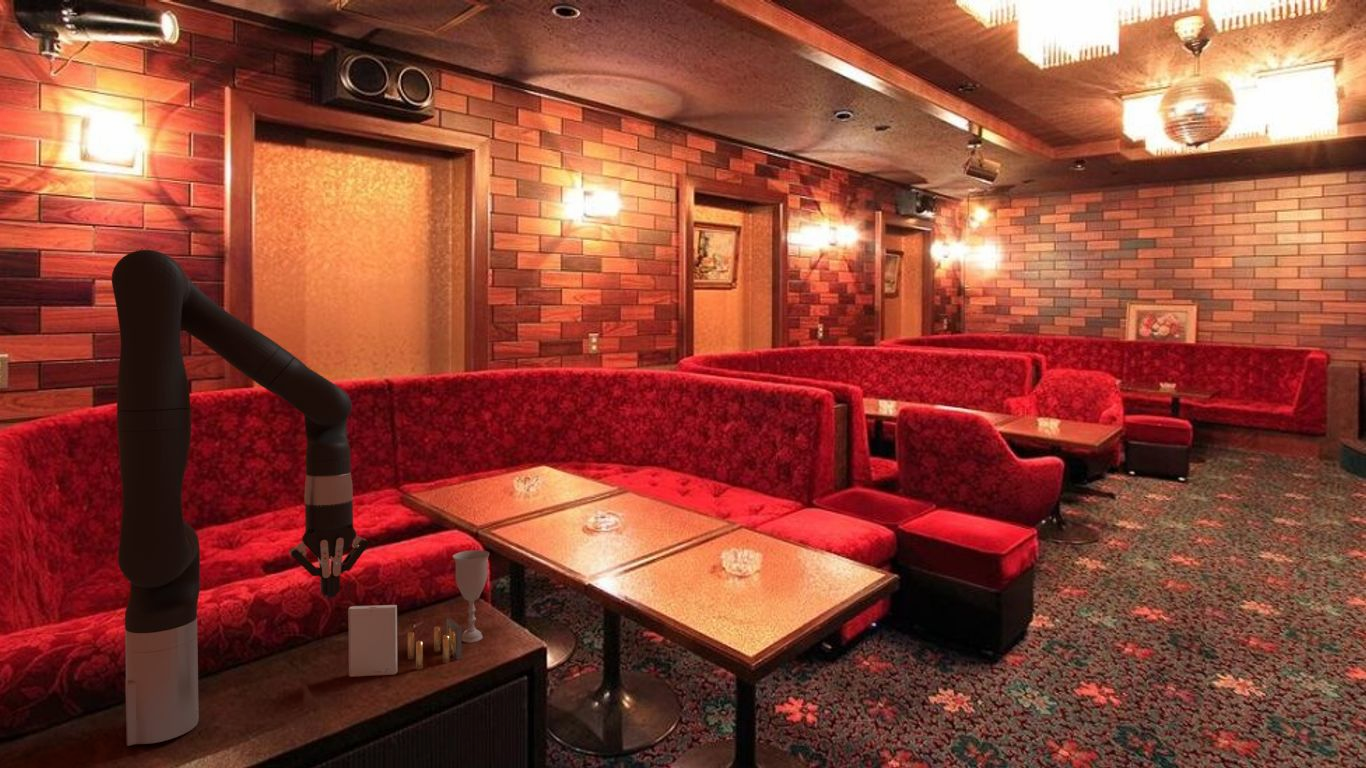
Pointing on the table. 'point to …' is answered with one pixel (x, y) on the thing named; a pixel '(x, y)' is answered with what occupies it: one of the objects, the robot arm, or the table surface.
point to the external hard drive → (372, 640)
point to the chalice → (471, 585)
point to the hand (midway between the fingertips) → (330, 596)
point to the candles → (438, 643)
